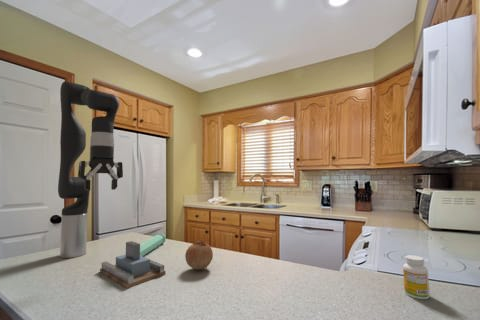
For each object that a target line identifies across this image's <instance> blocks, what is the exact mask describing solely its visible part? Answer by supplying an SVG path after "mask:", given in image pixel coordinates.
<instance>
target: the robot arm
mask: <svg viewBox="0 0 480 320" xmlns="http://www.w3.org/2000/svg"><path fill="white" fill-rule="evenodd" d="M59 93H60V109H61V110H60V112H61V120H60V121H61V124H60V140H59V142H60V143H59V144H60V159H59V160H60V164H59V174H58V185H57V193H58V196H59V198H61V199H64V200H66V199H76V200H75V202H73V203H72V204H70V205H68V206H67V205H66V206H65V207H63V208H62V209H61V221H60V222H61V227H60V248H59V249H60V250H59V251H60V252H59V253H60V254H59V255H60V256H59V257H60V258H61V259H68V258H69V259H70V258H76V257H80V256H83V255H86V254H87V243H88V241H87V239H88V238H87V237H88V211H89V210H88V209H89V204H90V203H89V202H90V200H89V199H90V192H91V182H92V181H91V178H92V177H93V176H94V175H95V174H108V176H110V177H111V185H110V187H111V188H110V189H111V190H113V191H115V190H116V189H118V180H119V179H121V178H124V177H123V176H124V170H123V168H124V167H123V162H122V161H119V162H115V161H114V157H115V156H114V155H115V154H114V153H115V138H114V137H115V136H114V130H115V129H114V123H115V120H116V116H117V112H118V110H119V108H120V99H119V98H118V96H117V95H115V94H113V93H109V92H108V93H107V92H104V91H100V90H96V89H91V88H90V87H88V86H87V85H83V84H79V83H75V82H71V81H63V82H62V83H61V86H60V92H59ZM72 105H76V106H77V105H78V106H86V107H88V108H89V109H90V110H93V111H98V112H104V113H106V115H105V116H102V115H101V116H95V117H93V118H92V119H91V136H90V140H89V141H90V145H89V146H90V147H89V161H88V160H87V161H86V160H80V161H79V163H78V170H77V171H78V173H77V176H71V173H72V169H73V167H74V165H75V163H76V162H77V160H78V159H79V158H80V157H81V156H82V154H83V153H84V151H85V149H86V146H87V143H86V142H87V140H86V139H87V134H86V131H85V128H84V127H83V125H82V124H81V123H80V122H79V119H77V117H76V115H75V113H74V111H73V106H72ZM88 166H89V168H90V169H89V171H87V174H86V173H85V171H86V168H87V167H88ZM113 168H115V169H116V172H115V171H114V169H113ZM85 174H86V175H85Z"/></svg>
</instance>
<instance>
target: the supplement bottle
mask: <svg viewBox="0 0 480 320" xmlns="http://www.w3.org/2000/svg"><path fill="white" fill-rule="evenodd" d="M402 269H403V270H402V273H403V283H404V284H403V286H404V293H405V294H406V295H407V296H408V297H410V298H414V299H418V300H428V299H429V298H430V295H431V293H430V283H429V282H430V281H429V271H428V268H427V267H426V266H425V259H424V258H423V257H421V256H418V255H413V254H412V255H410V254H408V255H405V263H404V264H403V265H402Z"/></svg>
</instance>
